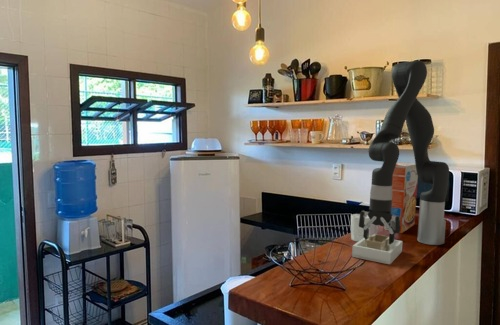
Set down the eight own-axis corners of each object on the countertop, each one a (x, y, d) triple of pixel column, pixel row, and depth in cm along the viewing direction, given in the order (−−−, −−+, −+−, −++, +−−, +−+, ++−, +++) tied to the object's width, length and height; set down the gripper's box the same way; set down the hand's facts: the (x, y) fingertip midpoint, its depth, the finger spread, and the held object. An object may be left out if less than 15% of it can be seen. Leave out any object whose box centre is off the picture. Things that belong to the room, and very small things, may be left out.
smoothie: (381, 238, 164) (382, 205, 163) (365, 236, 165) (367, 204, 164) (379, 234, 170) (380, 202, 169) (363, 233, 172) (365, 201, 171)
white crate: (367, 245, 153) (367, 235, 153) (401, 251, 146) (402, 241, 146) (352, 256, 138) (352, 245, 138) (389, 264, 131) (390, 252, 131)
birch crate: (373, 246, 148) (374, 233, 148) (390, 249, 145) (390, 236, 144) (364, 253, 139) (365, 240, 139) (381, 257, 136) (382, 243, 135)
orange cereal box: (401, 233, 173) (405, 166, 171) (383, 230, 178) (387, 164, 176) (414, 224, 192) (418, 163, 189) (397, 221, 196) (401, 162, 194)
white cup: (345, 238, 162) (346, 214, 162) (361, 236, 165) (362, 213, 165) (358, 243, 155) (359, 218, 154) (373, 241, 158) (375, 217, 157)
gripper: (358, 196, 141) (355, 240, 142) (399, 201, 133) (396, 247, 135) (364, 194, 147) (362, 236, 149) (404, 198, 140) (401, 242, 141)
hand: (378, 241), depth 142 cm, fingers open, 8 cm apart
